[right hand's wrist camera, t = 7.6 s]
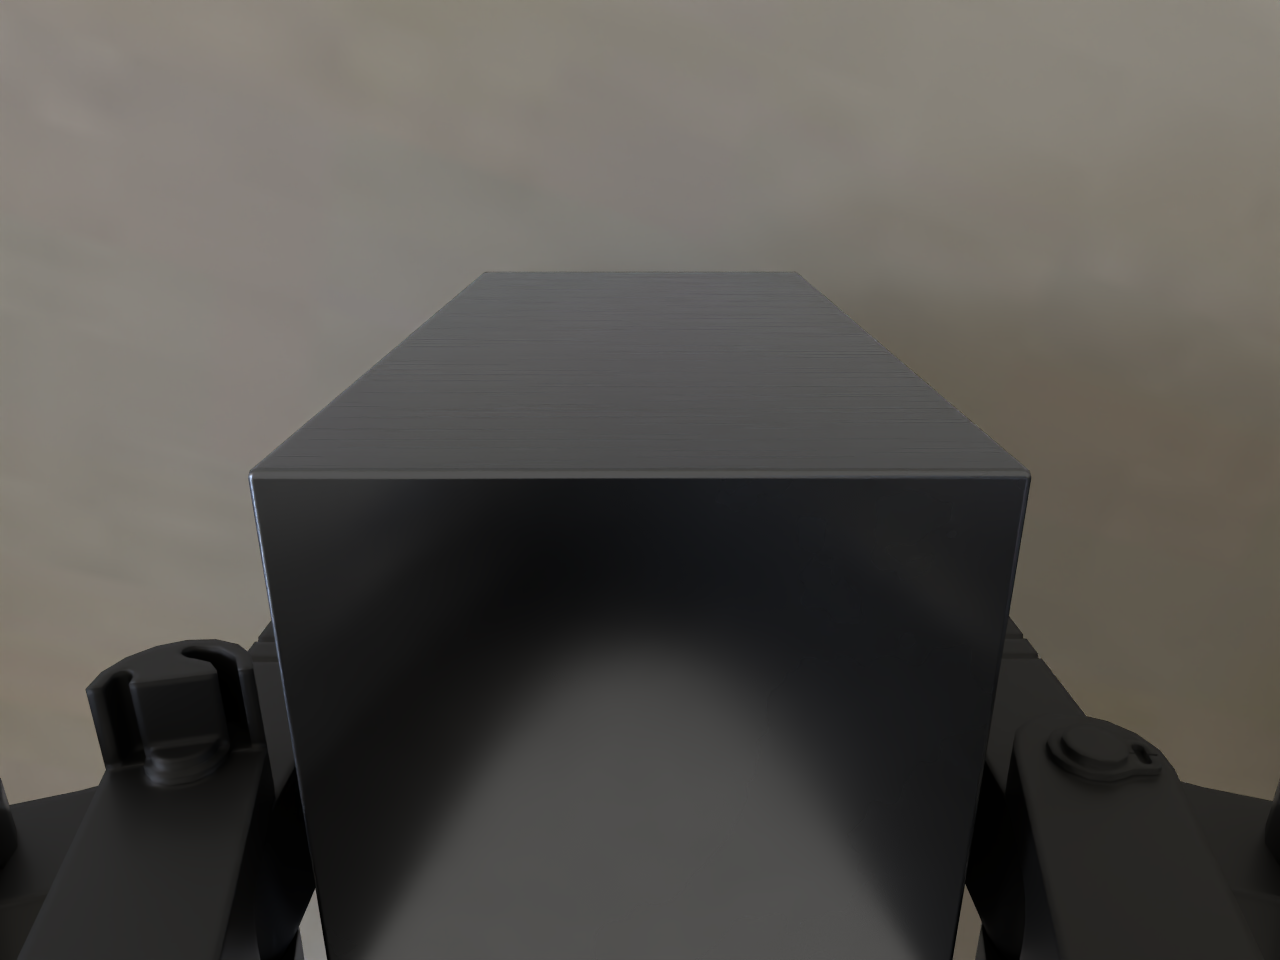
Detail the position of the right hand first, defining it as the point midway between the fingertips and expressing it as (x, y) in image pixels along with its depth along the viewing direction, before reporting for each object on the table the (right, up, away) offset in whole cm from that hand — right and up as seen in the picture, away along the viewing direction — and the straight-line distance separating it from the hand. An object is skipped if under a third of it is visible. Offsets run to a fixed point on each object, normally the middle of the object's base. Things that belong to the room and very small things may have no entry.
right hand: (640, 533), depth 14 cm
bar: (0, -8, +4) cm, 9 cm away
